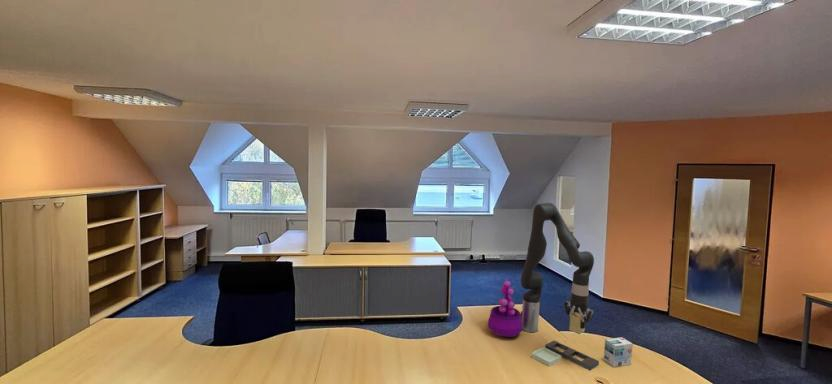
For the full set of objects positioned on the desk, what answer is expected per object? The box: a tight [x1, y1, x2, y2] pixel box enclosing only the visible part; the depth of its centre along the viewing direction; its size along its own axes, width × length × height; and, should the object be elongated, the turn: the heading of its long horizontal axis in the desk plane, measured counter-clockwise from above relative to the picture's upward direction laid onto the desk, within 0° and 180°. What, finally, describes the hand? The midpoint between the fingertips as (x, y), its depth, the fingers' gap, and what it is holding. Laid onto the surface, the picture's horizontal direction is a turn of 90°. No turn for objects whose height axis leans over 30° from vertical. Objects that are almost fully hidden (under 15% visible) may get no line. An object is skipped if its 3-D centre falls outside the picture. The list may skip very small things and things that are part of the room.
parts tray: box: [530, 346, 562, 367], centre depth 181 cm, size 10×10×2 cm
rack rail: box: [544, 340, 600, 371], centre depth 184 cm, size 24×8×2 cm, turn 37°
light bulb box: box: [603, 336, 634, 368], centre depth 179 cm, size 11×7×11 cm, turn 105°
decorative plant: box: [487, 280, 523, 338], centre depth 205 cm, size 19×18×30 cm
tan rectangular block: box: [568, 312, 586, 335], centre depth 179 cm, size 5×5×8 cm
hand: (577, 326), depth 179 cm, fingers closed on tan rectangular block, 5 cm apart
